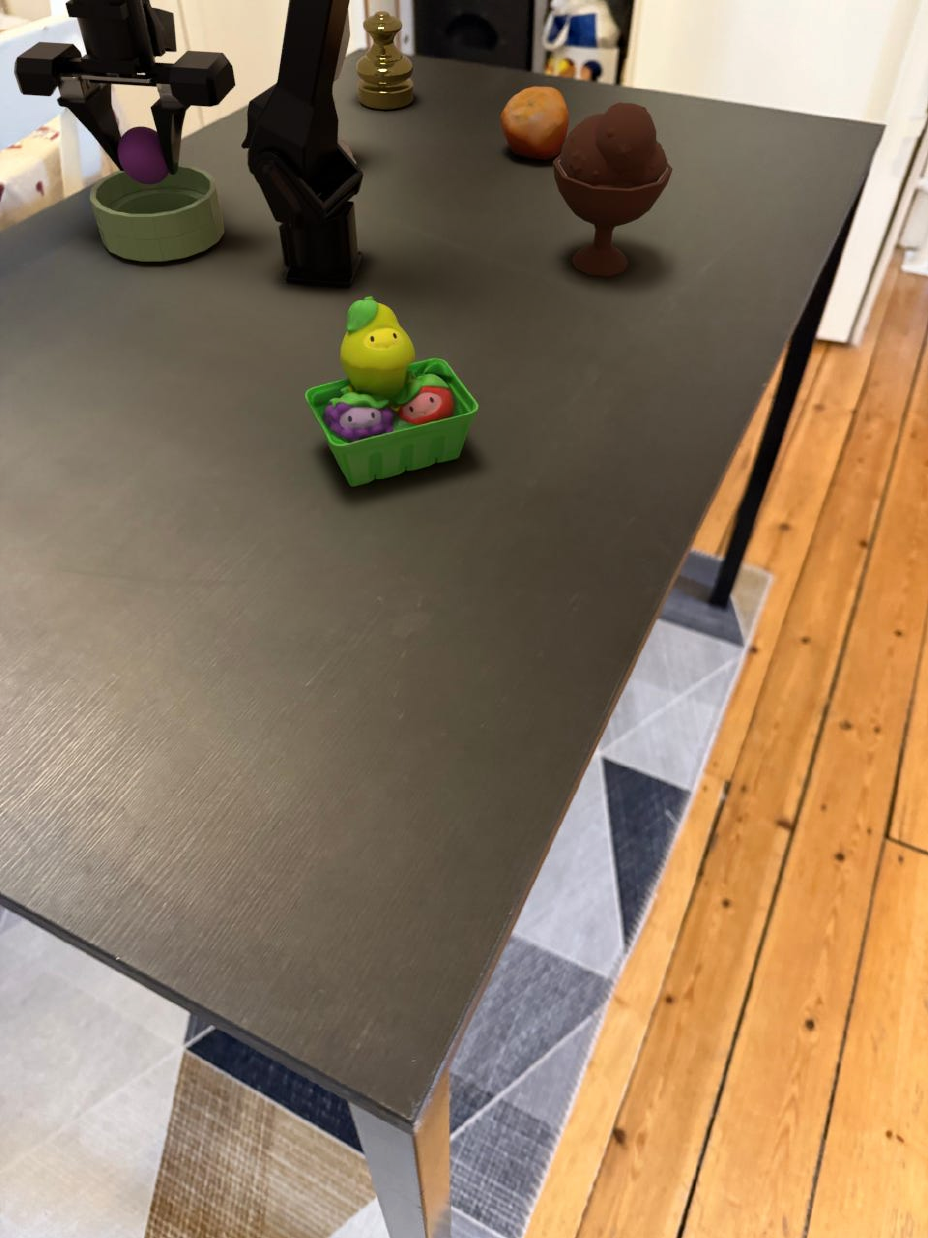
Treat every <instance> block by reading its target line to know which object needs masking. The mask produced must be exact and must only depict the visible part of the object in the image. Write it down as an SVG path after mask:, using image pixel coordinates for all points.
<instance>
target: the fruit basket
mask: <svg viewBox="0 0 928 1238" xmlns="http://www.w3.org/2000/svg"><path fill="white" fill-rule="evenodd" d="M346 317H347V318H346V319H347V321H346V333H345V335H344V337H343V340H342V342H341V346H340V364H341V366H342V369H343V371H344V373H345V375H346V376H347V378H343V379H339V380H336V381H331V382H328V383H325V384H321V385H317V386H313V387H311V388H309V389H307V390H306V391H305V394H304V398H305V401H306V403H307V405H308V407H309V410H310V412H311V413H312V414H313V416H314V418H315V419H316V422H317V423H318V426H319V428H320V430H321V432H322V434H323V436H324V438H325V440H326V443H327V445H328V447H329V449H330V451H331V453H332V454H333V456H334V458H335V460H336V462H337V464H338V467H339V468H340V470H341V471H342V474H343V475H344V476H345V478H346V480H347V483H348V485H349V486H350V487H358V486H361V485H365V484H368V483H371V482H372V481H374V480H384V479H387V478H391V477H394V476H398V475H401V474H402V473H405V472H411V471H417V470H421V469H423V468H428V467H430V466H433V465H435V464H437V463H445V462H449V461H453V460H457V459H459V458H460V456H461V452H462V449H463V447H464V443H465V441H466V438H467V436H468V432H469V430H470V427H471V424H472V422H473V420H474V419H475V417H476V415H477V413H478V410H479V403H478V402H477V400H476V399H475V398H474V397H473V396H472V394H471V393H470V392H469V390H468V389H467V388H466V386H465V385H464V384H463V382H462V381H461V380H460V378H459V377H458V375H457V374H456V372H455V371H454V370H453V369H452V367H451V365H449V363H448V362H447V361H446V360H445V359H442V358H437V357H436V358H435V357H432V358H428V359H424V360H420V361H415V360H416V351H415V347H414V344H413V342H412V340H411V338H410V336H409V334H407V332H406V331H405V330H404V328H403V327H402V326H401V325H400V323H399V321H398V319H397V317H396V314H395V312H394V311H393V310H392V309H391V308H390V307H389V306H387V305H385V304H383V303H381V302H377V301H376V300H375V299H374V297H373V296H371V295H370V296H366V297H364V298H363V299H359V300H356V301H354V302H353V303H351V305H350V306H349V308H348V311H347V316H346ZM414 361H415V362H414Z"/></svg>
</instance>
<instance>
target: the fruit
mask: <svg viewBox="0 0 928 1238" xmlns="http://www.w3.org/2000/svg"><path fill="white" fill-rule="evenodd" d="M499 116H500V123H501V129H502V132H503V135H504V137H505V139H506V141H507V143H508V146H509V148H510V149H511V151H512V152H513V154H515V155H516V156H519V157H523V158H528V159H536V160H542V161H547V160H551V159H553V158H555V157H556V156H558V155H559V154H561V151H562V147H563V143H564V142H565V140H566V138H567V136H568V135H567V134H568V130H569V123H570V114H569V110H568V107H567V104H566V101H565V98H564V96H563V94H562V93H561V92H560V91H559V90H558V89H556V88H555V87H553V86H538V85H537V86H535V85H533V86H531V87H525V88H523V89H522V90H521V91H520V92H518V93H516V94H514V95H513V96H512V97H511V98H510V99H509V100H508V101H507V103H506V105H504V108H503V110H502V112H501V114H500V115H499Z"/></svg>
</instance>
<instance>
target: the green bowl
mask: <svg viewBox="0 0 928 1238" xmlns="http://www.w3.org/2000/svg"><path fill="white" fill-rule="evenodd" d="M89 201H90V204H91V208H92V212H93V215H94V218H95V221H96V224H97V228H98V230H99V235H100V238H101V242H102V243H103V245H104V246H105V247H106V249H107V250H108V251H109V253H112V254H114V255H116V256H118V257H120V258H122V259H125V260H126V259H127V260H130V261H131V260H132V261H138V262H168V261H173V260H180V259H185V258H188V257H191V256H195V255H198V254H199V253H202V252H205V251H206V250H208V249H209V248H211V247H212V246H214V245H216V244H217V243H219V241H220V240H221V238H222V237H223V235H224V234H225V222H224V218H223V212H222V207H221V202H220V196H219V191H218V186H217V180H216V178H214V177H213V176H212V175H211V174H210V173H209V172H208V171H207V170H204V169H201V168H199V167H196V166H193V165H187V164H182V163H181V164H180V163H179V164H178V171H177V173H176V174H175V175H171V174H170V172H169V174H168V175H167V177H166V178H165V179H164V180H162V181H161V182H159V183H156V184H142V183H139V182H137V181H135V180H133V179H132V178H131V177H130V176H129V175H127V173H126V172H125V171H120V170H118V171H114V172H112V173H110V174H108V175H106V176H105V177H103V178H101V179H99V180H98V181H97V182H96V183H95V184H94V185H93V186H92V187H91V188H90V192H89Z"/></svg>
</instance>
